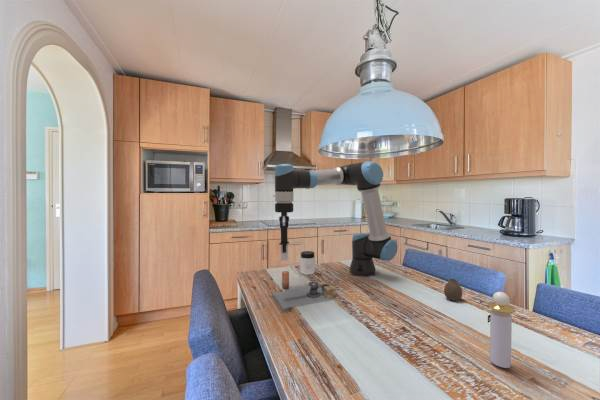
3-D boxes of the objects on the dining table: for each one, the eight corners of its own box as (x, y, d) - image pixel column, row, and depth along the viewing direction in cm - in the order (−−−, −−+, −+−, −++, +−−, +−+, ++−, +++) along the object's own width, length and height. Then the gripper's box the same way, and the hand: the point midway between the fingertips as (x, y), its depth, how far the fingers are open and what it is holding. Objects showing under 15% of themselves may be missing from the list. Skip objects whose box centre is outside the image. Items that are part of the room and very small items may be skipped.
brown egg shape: (466, 302, 110) (466, 282, 110) (449, 303, 110) (449, 282, 110) (456, 296, 117) (456, 277, 117) (440, 296, 117) (440, 277, 117)
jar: (301, 275, 150) (301, 254, 150) (299, 271, 158) (299, 251, 158) (316, 274, 151) (316, 253, 151) (313, 270, 159) (313, 250, 159)
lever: (325, 289, 121) (325, 265, 121) (330, 292, 117) (330, 268, 117) (280, 296, 113) (280, 271, 113) (283, 300, 109) (283, 274, 109)
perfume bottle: (519, 372, 68) (520, 296, 67) (497, 372, 68) (497, 296, 67) (503, 358, 73) (504, 288, 73) (482, 358, 74) (483, 288, 73)
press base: (322, 288, 128) (322, 279, 128) (339, 302, 112) (339, 292, 112) (272, 296, 119) (272, 286, 119) (283, 312, 103) (283, 300, 103)
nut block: (331, 294, 117) (331, 285, 117) (336, 297, 113) (336, 288, 113) (323, 295, 116) (323, 286, 116) (327, 299, 112) (327, 289, 112)
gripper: (275, 202, 113) (276, 256, 113) (273, 203, 100) (274, 264, 100) (293, 202, 113) (293, 256, 114) (293, 203, 100) (293, 264, 101)
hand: (284, 259), depth 107 cm, fingers closed
